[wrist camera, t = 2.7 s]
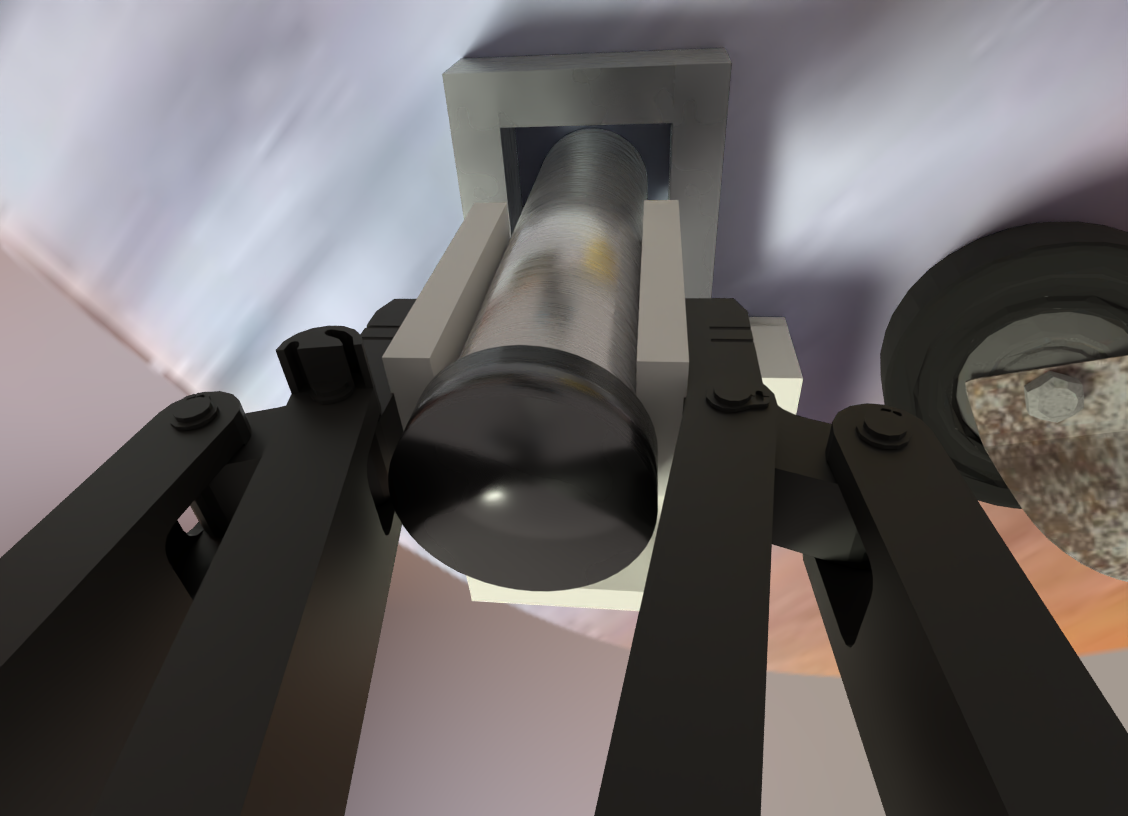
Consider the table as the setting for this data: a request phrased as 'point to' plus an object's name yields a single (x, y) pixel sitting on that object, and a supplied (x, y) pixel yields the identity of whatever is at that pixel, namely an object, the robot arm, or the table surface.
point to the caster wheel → (1027, 377)
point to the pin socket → (598, 97)
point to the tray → (630, 582)
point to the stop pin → (544, 394)
